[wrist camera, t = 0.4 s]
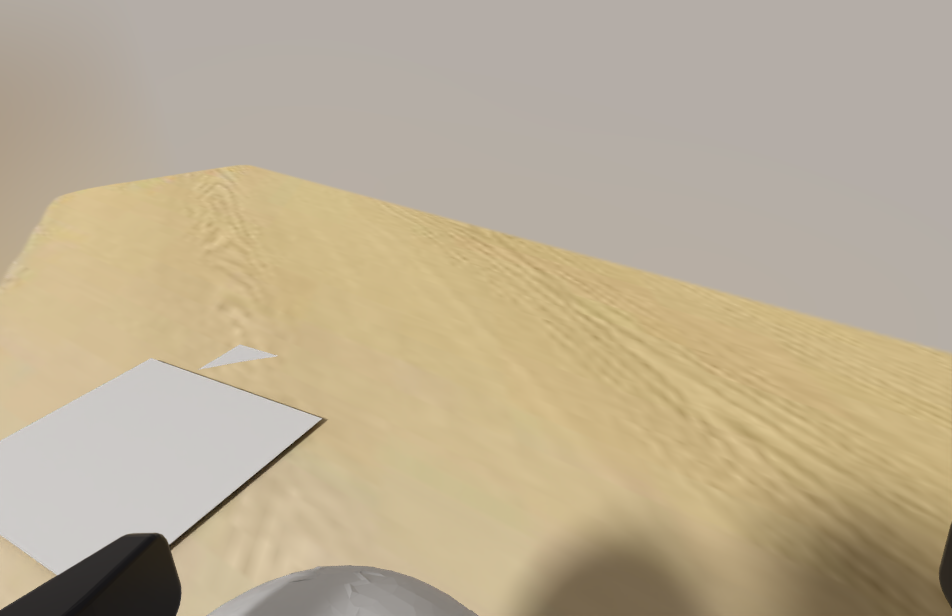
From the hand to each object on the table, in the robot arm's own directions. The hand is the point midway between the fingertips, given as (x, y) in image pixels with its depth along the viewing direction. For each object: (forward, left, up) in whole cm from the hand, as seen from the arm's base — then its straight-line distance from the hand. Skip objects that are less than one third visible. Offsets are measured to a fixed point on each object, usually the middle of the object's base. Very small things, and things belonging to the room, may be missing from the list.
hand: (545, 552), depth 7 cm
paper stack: (+26, +13, -17) cm, 34 cm away
